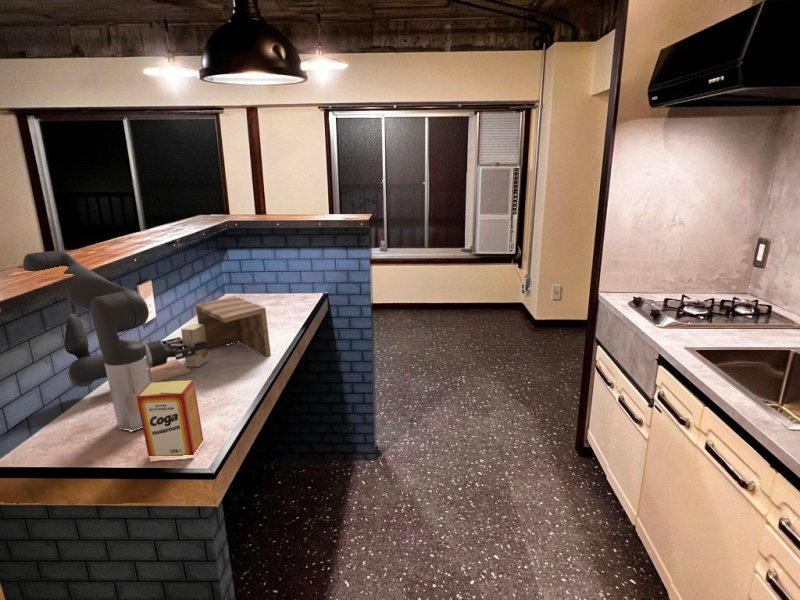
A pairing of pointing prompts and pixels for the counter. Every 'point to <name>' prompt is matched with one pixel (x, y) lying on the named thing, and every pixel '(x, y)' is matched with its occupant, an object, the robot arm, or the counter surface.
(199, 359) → the skincare box
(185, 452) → the baking soda box
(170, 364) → the terracotta tile
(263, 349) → the walnut shelf
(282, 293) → the counter surface
